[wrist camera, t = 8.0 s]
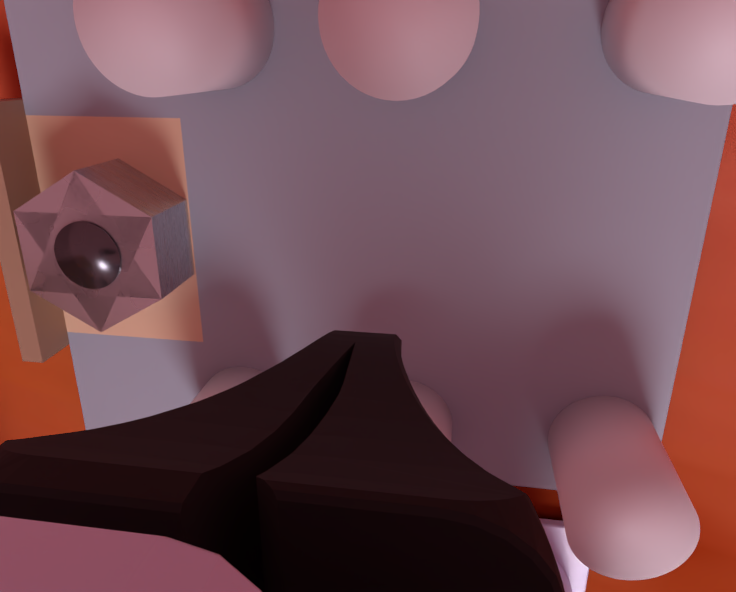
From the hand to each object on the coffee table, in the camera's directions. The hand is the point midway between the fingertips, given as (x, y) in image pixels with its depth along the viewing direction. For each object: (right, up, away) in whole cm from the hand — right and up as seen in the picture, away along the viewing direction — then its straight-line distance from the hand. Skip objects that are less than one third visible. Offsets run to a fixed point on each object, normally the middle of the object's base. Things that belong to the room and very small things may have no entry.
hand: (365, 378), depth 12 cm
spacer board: (0, +4, +9) cm, 10 cm away
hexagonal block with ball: (-8, +4, +10) cm, 13 cm away
